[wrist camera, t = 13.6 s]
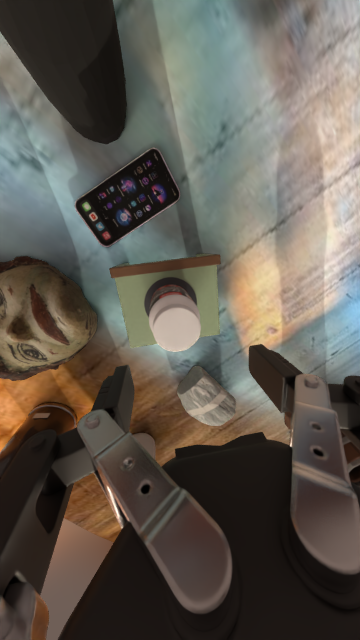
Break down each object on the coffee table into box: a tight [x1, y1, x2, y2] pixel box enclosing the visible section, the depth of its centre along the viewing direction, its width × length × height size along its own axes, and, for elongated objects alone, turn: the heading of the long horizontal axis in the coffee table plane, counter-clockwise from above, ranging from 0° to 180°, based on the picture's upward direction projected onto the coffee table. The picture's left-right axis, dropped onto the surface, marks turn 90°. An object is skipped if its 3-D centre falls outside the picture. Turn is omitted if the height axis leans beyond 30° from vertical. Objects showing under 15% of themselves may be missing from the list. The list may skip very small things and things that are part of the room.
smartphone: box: [75, 148, 180, 247], centre depth 30 cm, size 8×1×15 cm
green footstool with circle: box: [109, 254, 221, 348], centre depth 31 cm, size 12×14×10 cm
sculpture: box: [0, 256, 97, 381], centre depth 30 cm, size 21×10×25 cm
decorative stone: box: [177, 366, 236, 426], centre depth 41 cm, size 13×10×6 cm
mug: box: [285, 411, 360, 487], centre depth 44 cm, size 16×12×15 cm
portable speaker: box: [0, 0, 127, 144], centre depth 17 cm, size 9×9×20 cm
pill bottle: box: [149, 285, 201, 351], centre depth 23 cm, size 6×6×10 cm
